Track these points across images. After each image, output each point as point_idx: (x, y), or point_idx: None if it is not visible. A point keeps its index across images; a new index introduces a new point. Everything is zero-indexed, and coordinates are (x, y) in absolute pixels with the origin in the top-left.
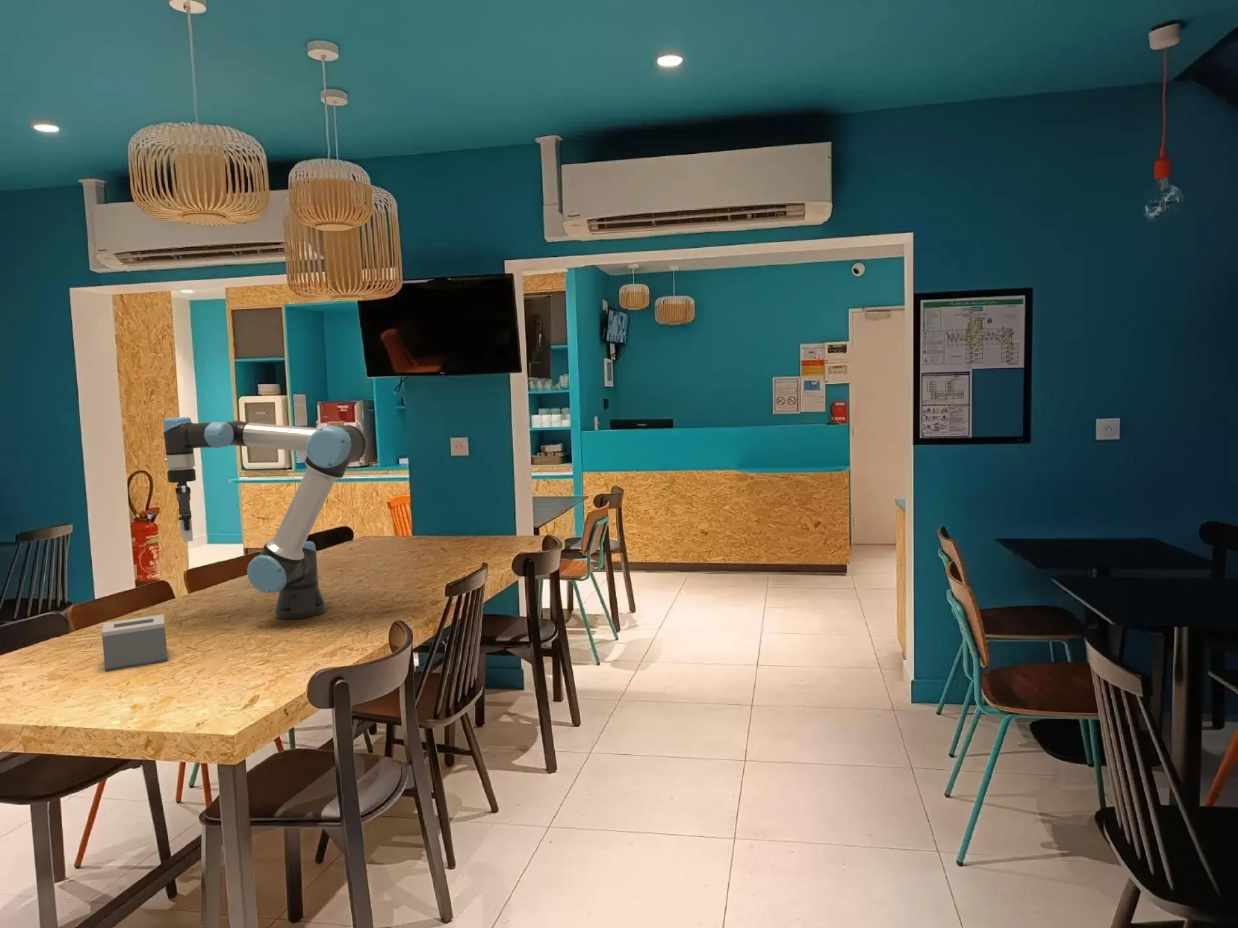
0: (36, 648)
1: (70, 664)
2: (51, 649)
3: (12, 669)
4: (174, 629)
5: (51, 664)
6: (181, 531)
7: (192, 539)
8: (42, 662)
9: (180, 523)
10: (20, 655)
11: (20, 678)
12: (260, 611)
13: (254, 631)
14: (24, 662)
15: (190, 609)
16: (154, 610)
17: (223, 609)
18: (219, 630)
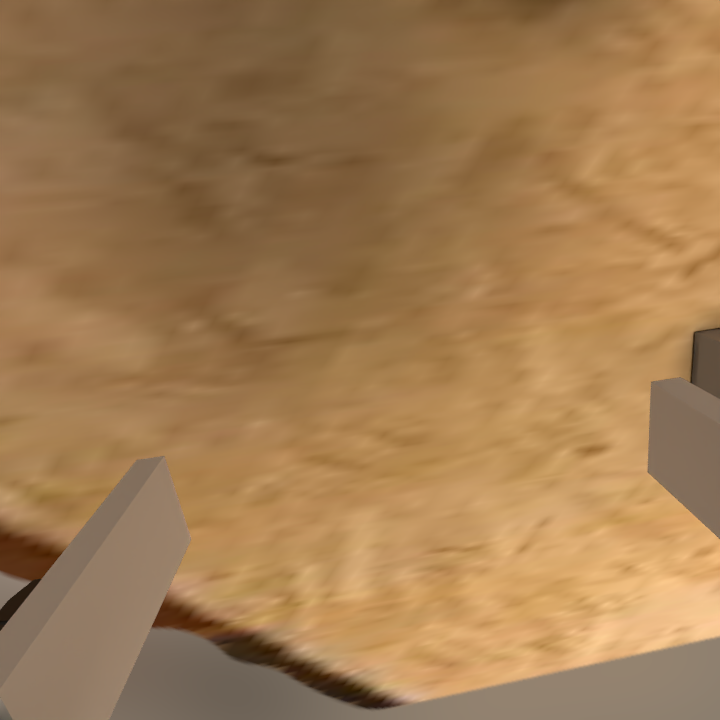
0: (403, 663)
1: (653, 553)
2: (440, 629)
3: (603, 658)
4: (381, 350)
5: (617, 593)
6: (170, 574)
7: (689, 389)
8: (578, 616)
9: (127, 668)
10: (461, 677)
11: (710, 623)
12: (220, 18)
13: (616, 28)
14: (547, 652)
15: (42, 338)
16: (8, 463)
17: (98, 201)
18: (502, 182)
